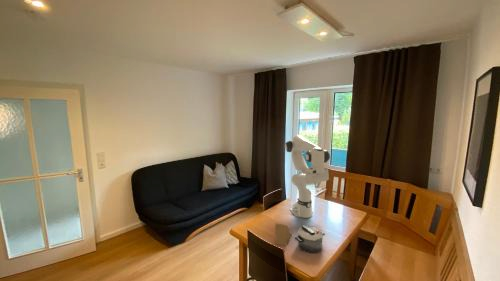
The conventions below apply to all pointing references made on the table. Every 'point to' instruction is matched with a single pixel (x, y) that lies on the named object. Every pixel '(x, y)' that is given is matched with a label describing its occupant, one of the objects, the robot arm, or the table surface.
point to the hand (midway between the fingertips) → (317, 187)
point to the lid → (310, 233)
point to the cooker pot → (309, 245)
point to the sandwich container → (282, 234)
